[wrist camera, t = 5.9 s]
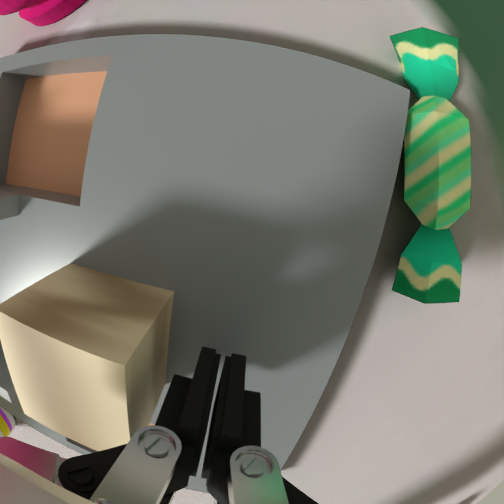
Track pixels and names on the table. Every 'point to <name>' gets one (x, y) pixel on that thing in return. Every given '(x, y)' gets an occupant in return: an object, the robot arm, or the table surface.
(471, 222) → the table surface
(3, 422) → the supplement bottle
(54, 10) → the pepper mill
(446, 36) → the candy
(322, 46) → the table surface
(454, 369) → the table surface
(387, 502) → the table surface
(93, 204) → the plate
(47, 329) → the block
